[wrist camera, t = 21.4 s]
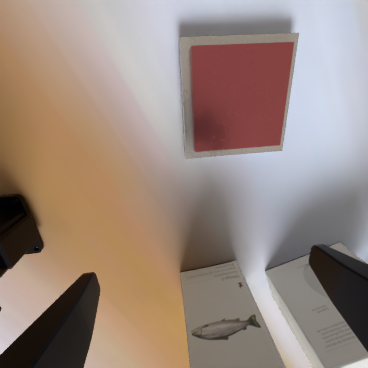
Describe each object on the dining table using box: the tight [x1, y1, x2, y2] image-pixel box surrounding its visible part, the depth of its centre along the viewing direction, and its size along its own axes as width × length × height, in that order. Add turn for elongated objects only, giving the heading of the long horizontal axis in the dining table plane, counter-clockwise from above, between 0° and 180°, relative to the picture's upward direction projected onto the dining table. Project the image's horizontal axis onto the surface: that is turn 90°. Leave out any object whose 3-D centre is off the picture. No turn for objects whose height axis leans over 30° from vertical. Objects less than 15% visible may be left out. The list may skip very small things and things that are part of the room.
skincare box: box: [265, 242, 368, 368], centre depth 22 cm, size 10×6×10 cm, turn 112°
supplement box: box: [180, 261, 286, 368], centre depth 20 cm, size 7×7×13 cm
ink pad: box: [179, 33, 299, 159], centre depth 16 cm, size 9×9×2 cm
